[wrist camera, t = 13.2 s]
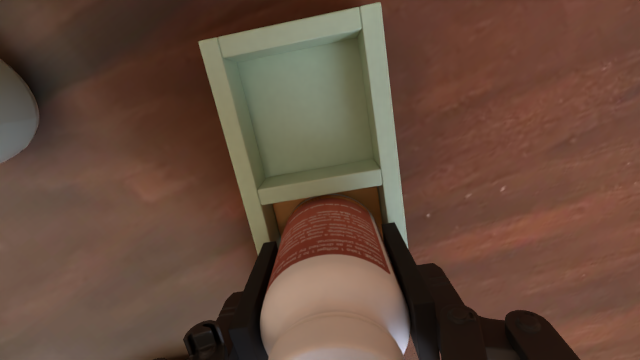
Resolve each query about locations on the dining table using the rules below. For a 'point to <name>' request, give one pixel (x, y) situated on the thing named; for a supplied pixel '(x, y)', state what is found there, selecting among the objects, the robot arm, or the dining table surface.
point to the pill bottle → (333, 288)
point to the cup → (15, 113)
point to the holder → (308, 116)
